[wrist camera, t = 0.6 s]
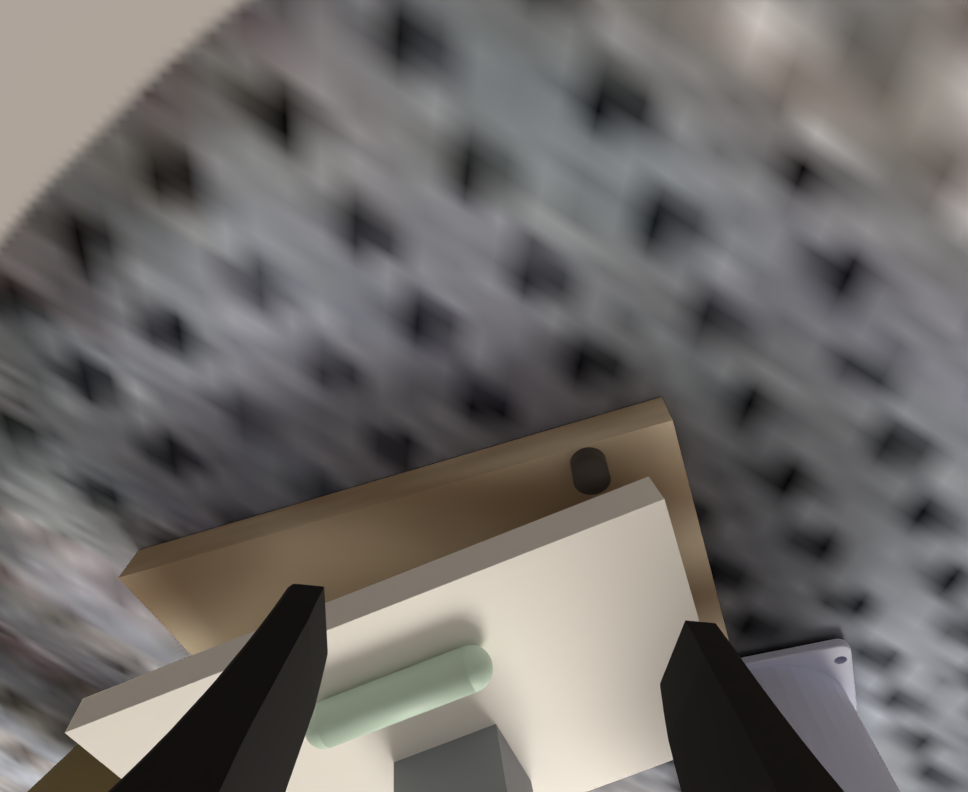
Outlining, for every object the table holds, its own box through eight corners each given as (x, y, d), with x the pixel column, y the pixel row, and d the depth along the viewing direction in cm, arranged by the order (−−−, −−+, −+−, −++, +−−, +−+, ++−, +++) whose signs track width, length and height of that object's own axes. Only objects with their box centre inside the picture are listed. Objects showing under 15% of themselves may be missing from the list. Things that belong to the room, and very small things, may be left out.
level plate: (717, 710, 24) (779, 825, 20) (282, 871, 25) (262, 1011, 21) (648, 476, 18) (717, 575, 14) (83, 698, 19) (3, 848, 15)
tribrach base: (730, 661, 27) (763, 748, 23) (312, 744, 31) (289, 827, 28) (661, 396, 20) (693, 464, 17) (138, 550, 24) (80, 628, 21)
